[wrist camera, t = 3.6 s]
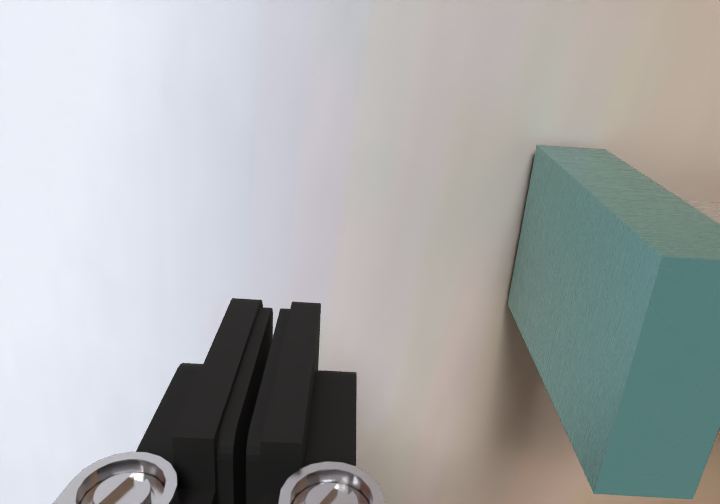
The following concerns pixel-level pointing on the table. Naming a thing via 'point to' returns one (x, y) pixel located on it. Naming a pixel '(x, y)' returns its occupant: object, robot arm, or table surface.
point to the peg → (622, 319)
